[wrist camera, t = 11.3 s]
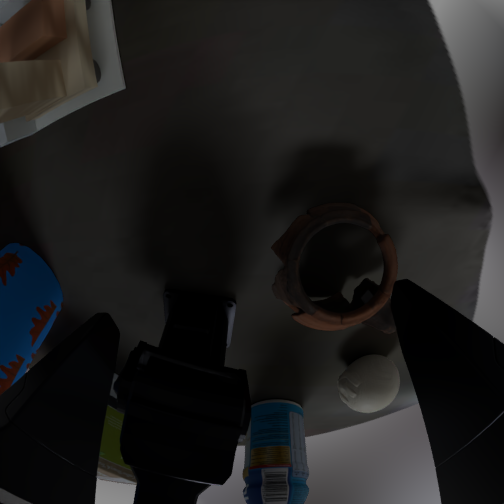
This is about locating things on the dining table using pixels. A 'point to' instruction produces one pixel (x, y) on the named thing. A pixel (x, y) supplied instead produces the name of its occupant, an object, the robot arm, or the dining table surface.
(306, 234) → the pottery mug
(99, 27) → the bay
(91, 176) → the dining table surface
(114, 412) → the tea box
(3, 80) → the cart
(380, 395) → the baseball
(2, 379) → the thermos
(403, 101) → the dining table surface
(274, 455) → the beverage bottle
